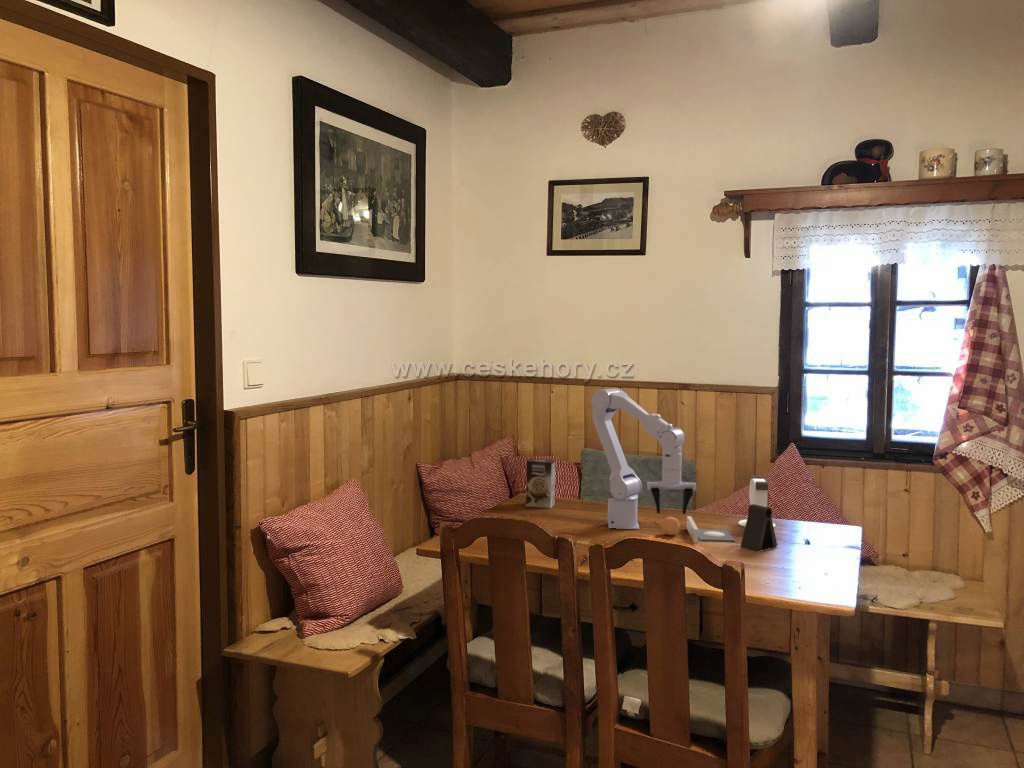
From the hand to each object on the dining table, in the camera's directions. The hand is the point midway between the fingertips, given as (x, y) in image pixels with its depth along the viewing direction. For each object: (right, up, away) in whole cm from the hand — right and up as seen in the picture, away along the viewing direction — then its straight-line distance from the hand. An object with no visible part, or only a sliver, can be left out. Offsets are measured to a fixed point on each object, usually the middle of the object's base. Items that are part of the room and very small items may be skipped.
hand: (671, 512), depth 253 cm
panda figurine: (+30, -6, +13) cm, 33 cm away
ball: (0, -4, 0) cm, 4 cm away
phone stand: (+23, -8, -12) cm, 27 cm away
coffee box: (-38, -4, +38) cm, 54 cm away
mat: (+13, -7, 0) cm, 15 cm away
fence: (+6, -7, 0) cm, 9 cm away
